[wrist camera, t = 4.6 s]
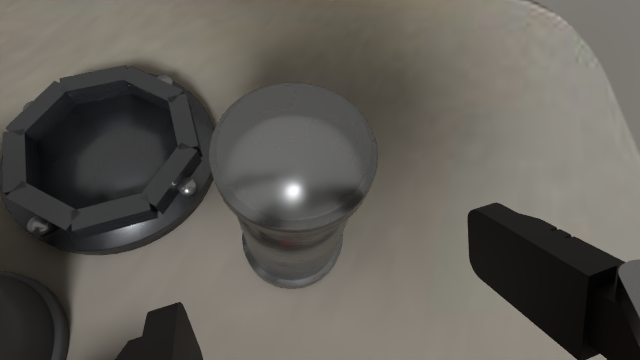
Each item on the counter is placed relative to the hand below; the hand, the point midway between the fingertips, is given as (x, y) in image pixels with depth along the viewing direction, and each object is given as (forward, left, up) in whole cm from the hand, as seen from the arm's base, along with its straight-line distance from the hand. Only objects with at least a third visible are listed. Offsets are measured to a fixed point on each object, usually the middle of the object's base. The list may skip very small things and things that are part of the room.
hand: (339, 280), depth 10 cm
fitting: (0, +4, -10) cm, 10 cm away
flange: (-8, +12, -10) cm, 17 cm away
